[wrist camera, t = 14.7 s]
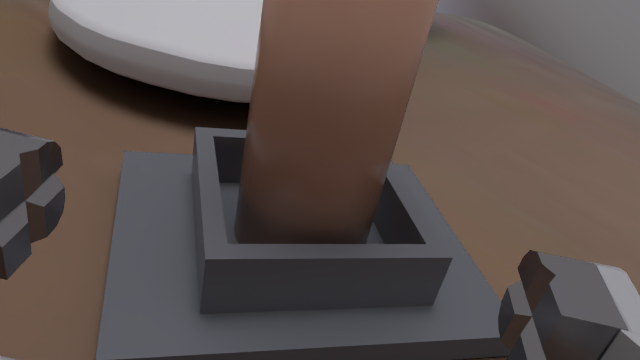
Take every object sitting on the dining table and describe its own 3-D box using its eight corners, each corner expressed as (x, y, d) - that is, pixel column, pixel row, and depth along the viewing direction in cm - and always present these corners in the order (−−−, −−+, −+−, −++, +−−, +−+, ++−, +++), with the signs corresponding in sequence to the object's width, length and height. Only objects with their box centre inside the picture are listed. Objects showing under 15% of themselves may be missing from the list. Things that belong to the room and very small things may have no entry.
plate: (20, -58, 45) (292, -33, 59) (27, 21, 48) (286, 26, 62) (95, 16, 25) (482, 26, 39) (101, 144, 28) (460, 111, 42)
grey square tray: (96, 384, 17) (92, 301, 16) (124, 171, 28) (124, 105, 26) (512, 355, 22) (550, 288, 20) (403, 181, 33) (421, 126, 31)
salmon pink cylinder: (241, 280, 21) (300, -119, 14) (228, 193, 26) (266, -136, 19) (382, 277, 23) (500, -79, 16) (344, 196, 28) (421, -104, 20)
